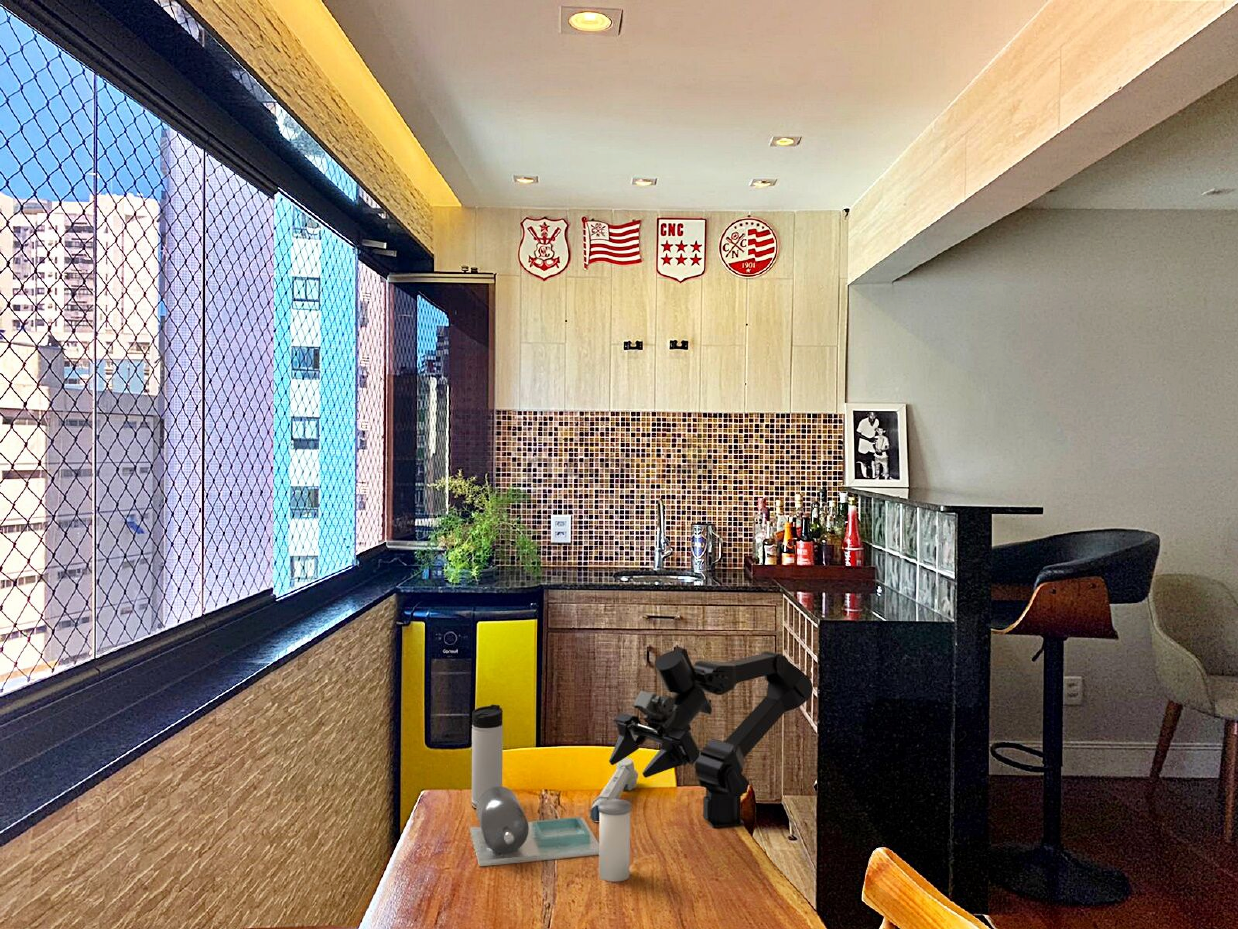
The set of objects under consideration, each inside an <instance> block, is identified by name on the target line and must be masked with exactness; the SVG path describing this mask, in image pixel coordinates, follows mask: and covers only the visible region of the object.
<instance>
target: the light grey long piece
mask: <svg viewBox="0 0 1238 929" xmlns="http://www.w3.org/2000/svg"><path fill="white" fill-rule="evenodd" d="M638 779H639V772H638V771H637V770H636V768H635V764H634V761H633V759H632V758H629V757H626V758H624V759H623V760H621V761H619V762H618V763H616V771H614V773H613V775H612V776H611V777H610V779H609V781H608V782H607V784H606V785H605V787H604V788H603V789H602V791H601V792H600V794H599V795H598V796H597V797H596V798H595V799H594V800H593V801H592V807H591V808H590V810H589V816H590V820H592V821H593V822H594V821H599V810H598V804H599V803H600V802H601V801H604V800H608V799H620V797H621V795H622V793H623V792H624V791H623V790H629V791H632V790H633V789H636V788H637V785H638V783H637V782H638Z"/></svg>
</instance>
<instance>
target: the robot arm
mask: <svg viewBox="0 0 1238 929" xmlns="http://www.w3.org/2000/svg"><path fill="white" fill-rule="evenodd" d="M654 668H655V669H656V671H657V674H658V676H659V677H660V680H661V681H662V683H663V685H664V688H665V689H666V690H667V691H668V692H669V693H674V694H673V695H672V696H670V695H667V694H663V695H662V696H660V695H657V694H654V693H651V692H649V691H645V690H640V691H639V693H638V694H637V697H636V699H635V701H634V703H633V704H632V706H633V708H634V709H637V710H639V711H640V712H641V713H642V714H644V715H643V716H642V719H643V720H644V722H645V723H646V724H647V725H643V724H642V722H641V720H640V718H639V716H637V715H634V714H632V713H628V712H620V714H618V715H617V716H616V717H615V718H614V720H613V721H614V722H615V725H616V728H617V730H618V738H617V740H616V743H615V745H614V748H613V751H612V752H611V756H610V758H609V759H608V762H609V764H610V765H611V766H614V765H617V763H618V762H619V761H621V760H623V759H624V758H628V757H630V755H631V754H633V753H634V752H637V751H638V750H639V749H640V748H639V746H642V745H643V744H644V743H645V742H646V741H647V740H649V741H653V742H655V743H656V744H659V745H661V746H660V749H659V750H658V752H657V753H656V754H655V755H654V757H653V758H652V759H651V760H650V761H649V763H648V764H647V765H646V767H645V768H644V770H643V771H642V773H641V774H642V776H643V777H644V778H646V779H647V778H649V777H651V776H655V775H657V774H660V773H662V772H665V771H668V770H671V769H675V768H679V767H681V766H682V767H685V766H687V764H688V765H691V766H693V765H694V769H695V775H696V777H697V780H698V783H699V786H700V787H701V788H705V796H703V804H702V807H703V808H702V810H703V812H702V813H703V814H702V817H703V819H704V820H705V821H706V820H707V821H708V822H709V823H710V824H711V825H712V826H713V827H712V826H711V825H710V824H709V823H708V822H707V823H708V824H709V825H710V826H711V827H712V828H724V827H735V826H744V825H745V821H744V820H742V815H741V814H742V813H741V812H742V808H741V806H742V805H741V802H742V797H743V795H744V794H747V793H748V789H749V785H750V784H749V783H750V782H749V780H748V779H747V778H746V776H745V775H743V772H744V763H745V758H746V757H747V756H748V754H749V753H750V752H751V751H752V750H753V749H754V748H755V747H756V745H758V743H759V742H760V741H761V740H762V739H763V737H765V736H766V734H767V733H768V732H769V731H770V730H771V728H772V727H773V726H774V725H775V724H776V723H777V722H778V721H779V720H780V718H781V717H782V716H784V714H785V713H787V712H789V711H793V710H795V709H799V708H801V706H803V705H804V704H805V703H806V702H808V701H809V700H810V698H811V697H812V694H813V691H814V684H813V683H812V680H811V679H810V676H808V675H807V674H806V673H804V671H802V670H801V669H800V668H798V667H797V666H796V665H794V664H793V663H792V662H790V661H789V659H788V658H787V657H786V656H785V655H783V654H782V653H778V652H774V651H772V652H771V651H768V650H767V651H763V652H762V653H758V654H755V655H750V656H747V657H742V658H738V659H734V660H730V661H715V660H699V661H697V662H695V663H694V664H693V663H692V661H691V659H690V658H689V652H688V650H686V648H683V647H678V646H677V647H676V648H675V649H674V650H671V651H668V652H665V653H663V654H661V655H659V656H658V657H657V658H656V659H655V661H654ZM762 677H764V680H765V681H766V683H767V687H766V694H765V695H766V696H765V697H764V698H763V699H762V700H761V701H760V703H758V704H757V706H755V708H753V710H752V711H751V712H750V713H749V714H748V715H747V716H746V718H745V719H744V720H742V722H741V723H740V724H739V725H738V726H737V727H736V728H735V730H733V732H732V733H731V734H730V735H729V736H728V737H727V738H726V739H725V740H719V739H716V738H711V739H710V740H709V741H708V742H707V744H706V745H705V746H704V747H703V748H702V749H700V748H699V747H698V745H697V743H696V741H695V739H694V737H693V734H692V733H691V730H692V726H691V725H690V724H691V723H692V722H693V720H694V719H695V718H696V717H697V716H698V715H699V714H700V713H704V714H707V715H711V714H712V712H713V709H712V708H713V707H712V699H709V698H707V697H708V696H706V693H707V694H712V695H716V696H722V695H725V694H727V693H729V692H730V691H732V690H734V688H735V687H736V685H738V684H739V683H743V682H746V681H747V682H748V681H750V680H755V679H758V678H762ZM694 763H695V764H694Z"/></svg>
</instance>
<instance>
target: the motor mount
mask: <svg viewBox="0 0 1238 929" xmlns="http://www.w3.org/2000/svg"><path fill="white" fill-rule="evenodd" d="M475 810H476V811H475V812H476V816H477V819H478V823H479V826H470V827H469V834H470V833H471V835H470V838H471V837H472V839H471V842H472V841H473V843H472V846H473V845H474V846H473V850H474V849H475V850H474V853H475V852H476V854H475V857H476V856H477V857H476V860H478V861H477V863H478V864H479V865H478V867H479V866H480V867H488V866H498V865H508V864H519V863H528V862H529V863H531V862H541V861H548V860H549V861H550V860H558V859H568V858H580V857H590V856H599V841H598V839H597V838H596V837H595V835H594V834H593V831H592V830H591V828H590V827H589V825H588V823H587V822H586V820H585V819H584V817H580V816H576V817H575V816H574V817H564V818H563V817H562V818H552V819H540V820H532V821H528V820H527V817H526V815H525V813H524V810H523V809H522V806H521V804H520V802H519V799H518V797H517V795H516V793H515V792H514V791H513V790H511V789H510V788H507V787H506V786H502V787H493V788H490V789H488V790H487V791H485V792H484V793H483V794H482V795H481V797H480V798H479V800H478V803H477V808H476V809H475Z"/></svg>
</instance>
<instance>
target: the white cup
mask: <svg viewBox="0 0 1238 929" xmlns="http://www.w3.org/2000/svg"><path fill="white" fill-rule="evenodd" d="M598 810H599V824H598V825H599V826H598V828H599V829H598V830H599V831H598V832H599V833H598V834H599V837H598V840H599V841H598V843H599V855H598V858H599V860H598V876H599V878H600V879H601V880H603V881H607V882H613V883H615V882H616V883H617V882H618V883H619V882H622V881H623V882H624V881H625V880H627V879H629V878H630V876H631V875H630V873H631V872H630V871H631V870H630V868H631V864H630V863H631V858H630V856H631V855H630V854H631V846H630V845H631V834H630V833H631V811H632V803H631V802H630V801H629V800H625V799H620V798H619V799H608V800H604V801H601V802H600V803H599V804H598Z"/></svg>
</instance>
